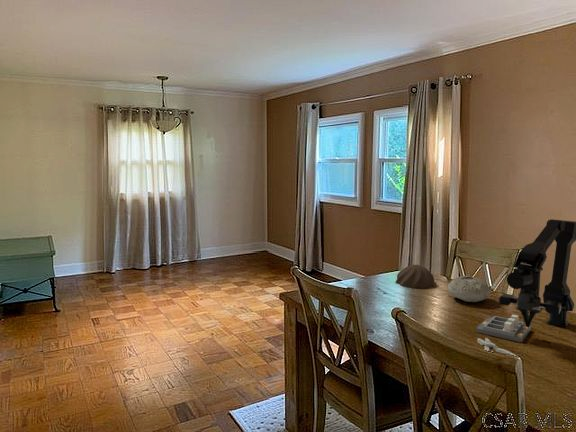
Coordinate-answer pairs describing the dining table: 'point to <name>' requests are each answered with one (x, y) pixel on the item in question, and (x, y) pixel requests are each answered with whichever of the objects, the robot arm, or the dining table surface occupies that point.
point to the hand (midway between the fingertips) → (527, 326)
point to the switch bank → (496, 327)
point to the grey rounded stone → (469, 289)
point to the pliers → (489, 345)
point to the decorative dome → (415, 277)
